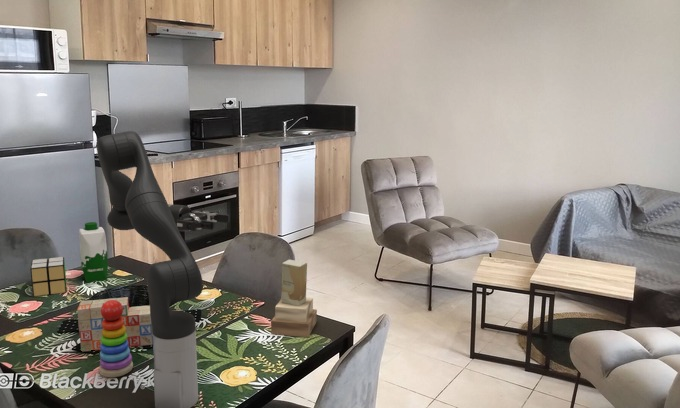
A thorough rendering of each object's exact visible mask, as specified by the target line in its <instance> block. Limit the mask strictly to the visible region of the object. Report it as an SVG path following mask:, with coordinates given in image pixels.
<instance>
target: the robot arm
mask: <svg viewBox="0 0 680 408" xmlns="http://www.w3.org/2000/svg"><path fill="white" fill-rule="evenodd" d="M96 153H97V158H98V161H99V164H100V167H101V171H102V175H103V176H104V177H103V178H104V179H105V182H106V185H107V188H108V189H107V190H108V197H109V203H110V204H111V206H112V208H111V209H110V211H109V213H108V215H107V219H106V220H107V224H108V225H109V226H110V227H111V228H113V229H114V230H115V229H116V230H118V231H130V230H134V231H136V232H137V233H138V234H139V236H141V237H142V238H144V239H145V240H146V241H148V242H150V243H151V244H153V245H154V246H156V247H157V248H159V249H160V250H161V251H162V252H164V253H165V254H166V256H167V257H168V258H169V260H165V261H157V262H154V263H151V264H150V265H149V267H148V268H147V273H146V285H147V294H148V302H149V305H150V316H151V323H152V335H153V344H152V349H153V350H152V353H153V354H152V355H153V369H154V370H153V372H152V373H153V375H152V376H153V389H154V390H153V391H154V392H153V393H154V407H155V408H193V407H194V406H195V405H196V404H197V403H198V401H199V386H198V385H199V384H198V359H197V358H198V356H197V354H198V353H197V329H196V326H197V325H196V319H195V316H194V315H193V314H192V313H190V312H187V311H183V310H177V309H173V308H170V304H175V303H180V302H184V301H185V302H186V301H190V300H192V299H196V298H198V297H199V296H201V294H202V292H203V289H204V288H203V287H204V286H203V285H204V283H203V282H204V281H203V276H202V274H201V270H200V268H199V265H198V263H197V261H196V260H195V258H194V256H193V253H192V252H191V251H190V249H189V246H188V245H187V243H186V241H185V240H184V238H183V236H182V234H181V232H186V231H192V232H195V231H197V230H199V231H200V230H210V231H211V230H215V228H216V224H215V223H218V222H219V223H226V224H228V223H230V221H231V220H230V219H231V218H230V215H229V214H224V213H223V214H221V213H220V211H218V210H215V211H214V210H204V209H202V210H201V209H200V211H198V210H196V211H193V212H192V209H191V208H190V207H189V206H187V205H183V204H172V203H171V204H170V203H168V202H167V199H166V197H165V195H164V193H163V191H162V189H161V187H160V185H159V182H158V181H157V178H156V176H155V173H154V171H153V168H152V166H151V162H150V160H149V156H148V154H147V151H146V148H145V145H144V143H143V140H142V138H141V136H140V135H139V133H137V132H136V131H133V130H131V131H130V130H128V131H127V130H126V131H123V132H118V133H117V132H116V133H111V134H107V135H102V136H101V137H98V139H97V142H96ZM132 168H136V171H135V175H134V178H133V180H132V179H131V177H130V176H128V175H126V174H125V173H123V172H121V171H122V170H128V169H132Z"/></svg>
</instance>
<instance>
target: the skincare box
mask: <svg viewBox="0 0 680 408" xmlns="http://www.w3.org/2000/svg"><path fill="white" fill-rule="evenodd" d="M307 275H308V262H304V261H300V260H295V259H290V258H289V259H287V260H285V261H283V262H282V263H281V297H280V300H281V302H283V303H287V304H291V305H296V306H300V305H302V304H303V303H305V302H306V298H307V280H308V279H307V277H308V276H307Z"/></svg>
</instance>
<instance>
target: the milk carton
mask: <svg viewBox="0 0 680 408" xmlns="http://www.w3.org/2000/svg"><path fill="white" fill-rule="evenodd" d="M78 232H79V233H78V240H79V253H80V266H81V271H82V273H83V276H84V280H85V283H92V282H93V283H94V282H98V281H99V282H100V281H105V280H108V271H109V270H108V268H109V262H108V248H107V235H106V232H105V229H104V228H103V227H102V226H99V227H98V223H97V222H96V221H94V222H93V221H92V222H91V221H90V222H85V223H84V228H79V231H78Z"/></svg>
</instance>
